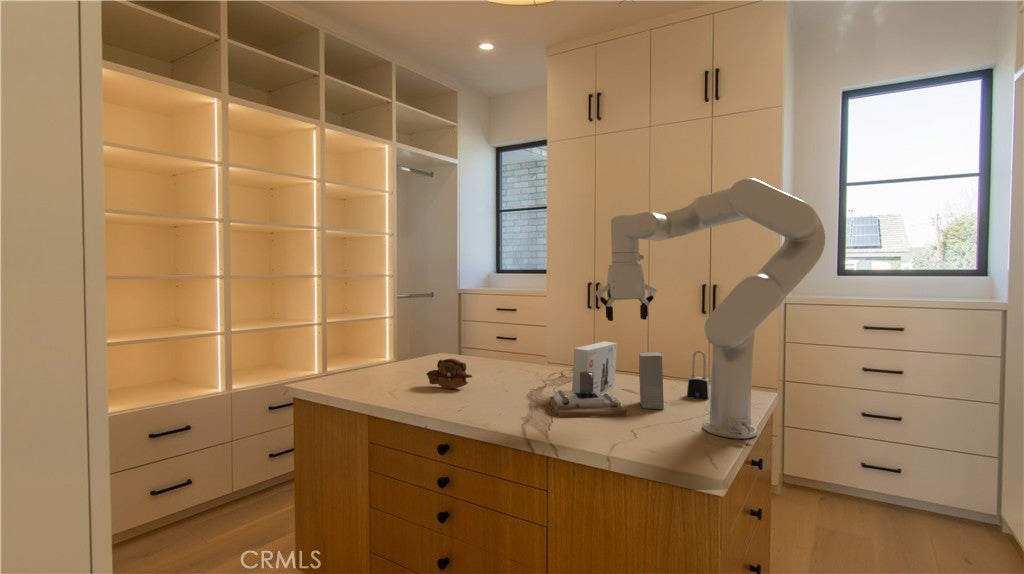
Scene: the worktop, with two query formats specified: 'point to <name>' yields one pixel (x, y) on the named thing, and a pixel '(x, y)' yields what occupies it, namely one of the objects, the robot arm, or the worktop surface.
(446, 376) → the wooden carving
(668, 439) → the worktop surface
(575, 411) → the walnut board
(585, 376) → the pin
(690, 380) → the padlock
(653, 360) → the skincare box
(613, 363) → the skincare box
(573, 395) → the grey tray
